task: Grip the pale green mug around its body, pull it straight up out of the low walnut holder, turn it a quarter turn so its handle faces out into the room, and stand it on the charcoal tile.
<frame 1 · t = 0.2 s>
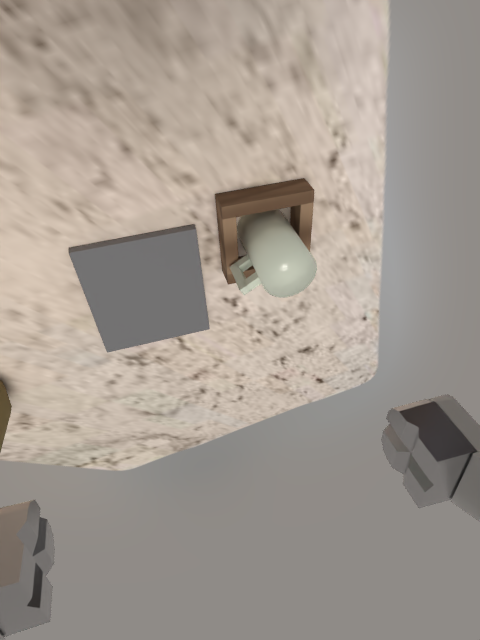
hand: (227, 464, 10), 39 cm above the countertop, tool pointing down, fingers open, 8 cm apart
walnut holder: (261, 226, 53), on the countertop
charcoal tile: (146, 290, 55), on the countertop
pale green mug: (261, 226, 53), resting in walnut holder
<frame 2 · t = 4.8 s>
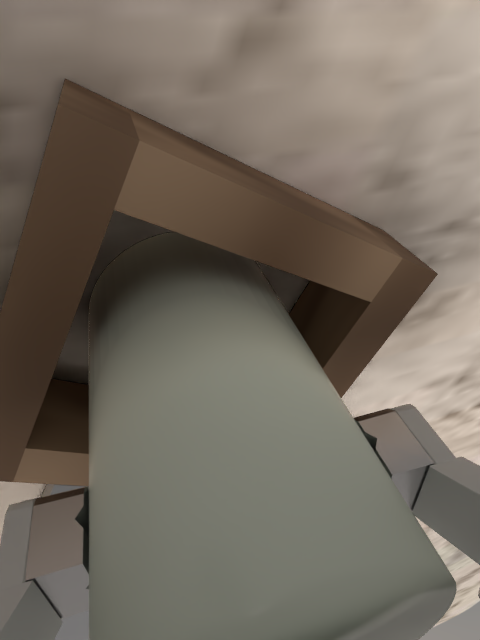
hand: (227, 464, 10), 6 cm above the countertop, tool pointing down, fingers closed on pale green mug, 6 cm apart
walnut holder: (182, 314, 15), on the countertop
charcoal tile: (173, 557, 24), on the countertop
pale green mug: (182, 313, 15), resting in walnut holder, touching gripper
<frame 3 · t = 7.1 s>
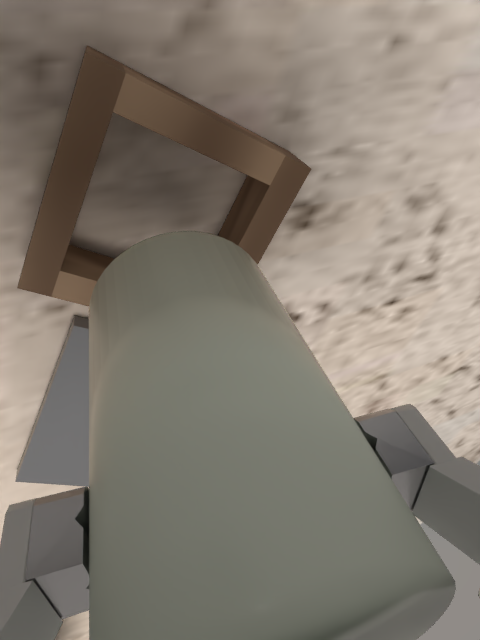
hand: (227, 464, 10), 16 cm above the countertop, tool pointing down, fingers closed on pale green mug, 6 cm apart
walnut holder: (158, 204, 23), on the countertop
charcoal tile: (158, 418, 32), on the countertop
pale green mug: (182, 313, 15), point 10 cm above the countertop, touching gripper
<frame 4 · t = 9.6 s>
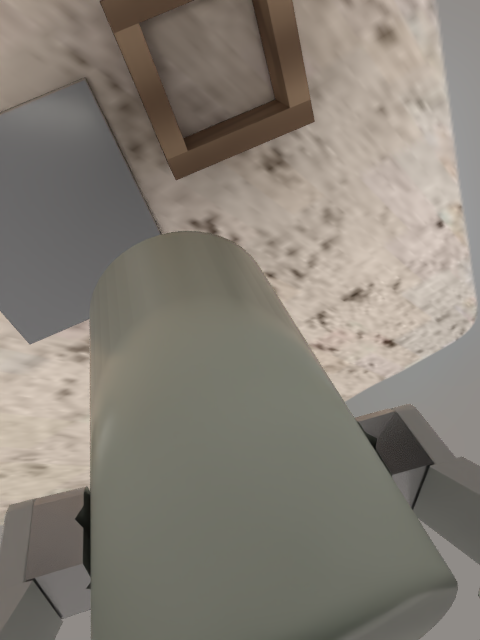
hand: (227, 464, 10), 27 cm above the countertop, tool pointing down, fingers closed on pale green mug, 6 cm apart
walnut holder: (210, 63, 29), on the countertop
charcoal tile: (54, 226, 33), on the countertop
pale green mug: (183, 313, 15), point 21 cm above the countertop, touching gripper
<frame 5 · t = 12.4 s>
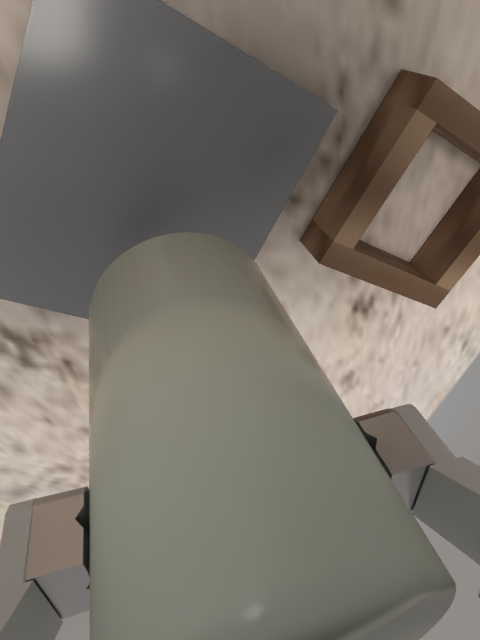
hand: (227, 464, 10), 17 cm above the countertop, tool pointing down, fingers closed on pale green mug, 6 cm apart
walnut holder: (407, 196, 28), on the countertop
charcoal tile: (148, 194, 23), on the countertop
pale green mug: (182, 314, 15), point 11 cm above the countertop, touching gripper
when the fingers open (9 cm above the countertop, at t = 14.9 s): pale green mug drops 1 cm, resting on charcoal tile.
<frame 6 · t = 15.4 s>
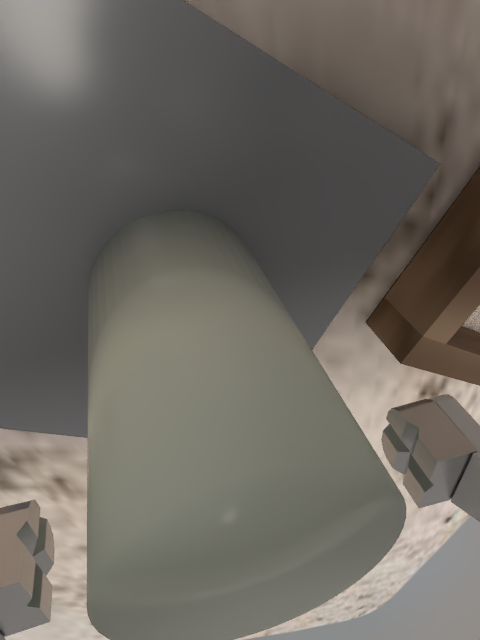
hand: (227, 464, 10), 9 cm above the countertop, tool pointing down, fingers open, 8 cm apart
charcoal tile: (171, 278, 17), on the countertop
pale green mug: (176, 290, 16), point 1 cm above the countertop, touching charcoal tile
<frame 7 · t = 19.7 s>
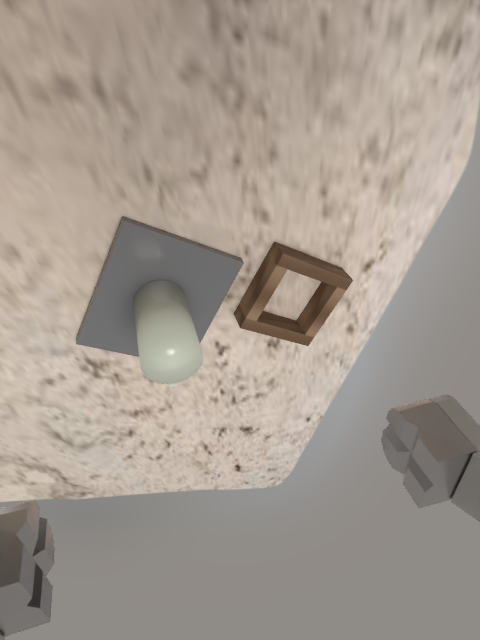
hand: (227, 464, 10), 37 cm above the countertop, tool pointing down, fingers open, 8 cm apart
walnut holder: (288, 290, 55), on the countertop
charcoal tile: (158, 298, 51), on the countertop
pale green mug: (159, 302, 50), point 1 cm above the countertop, touching charcoal tile
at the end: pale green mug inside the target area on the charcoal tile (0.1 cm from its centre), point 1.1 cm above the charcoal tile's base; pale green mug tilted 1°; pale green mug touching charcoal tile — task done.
